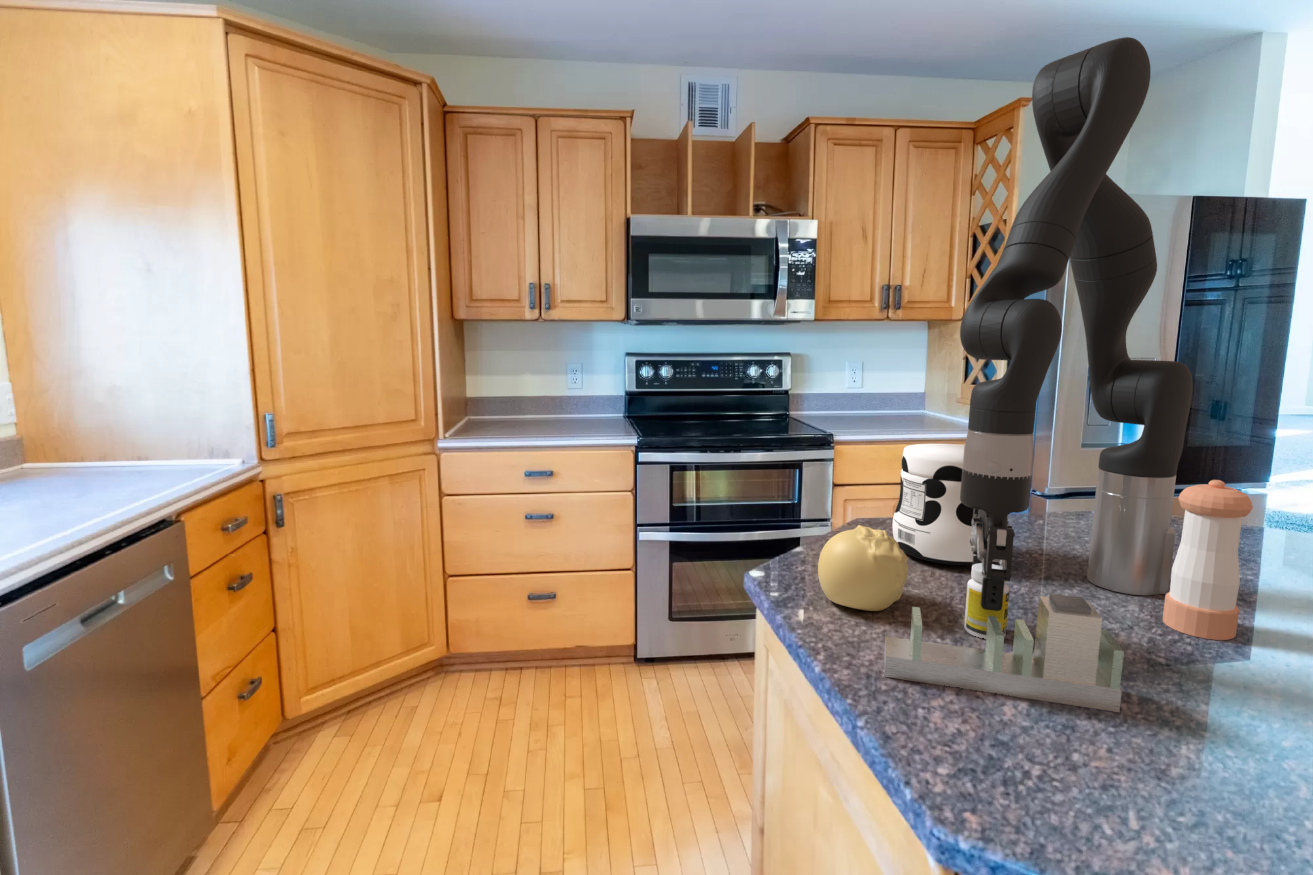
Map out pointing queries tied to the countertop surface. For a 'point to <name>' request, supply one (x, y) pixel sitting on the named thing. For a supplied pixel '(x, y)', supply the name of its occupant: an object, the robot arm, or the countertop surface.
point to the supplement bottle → (975, 613)
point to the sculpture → (863, 569)
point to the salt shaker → (1207, 562)
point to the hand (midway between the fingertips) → (985, 596)
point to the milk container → (933, 505)
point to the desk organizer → (1023, 658)
